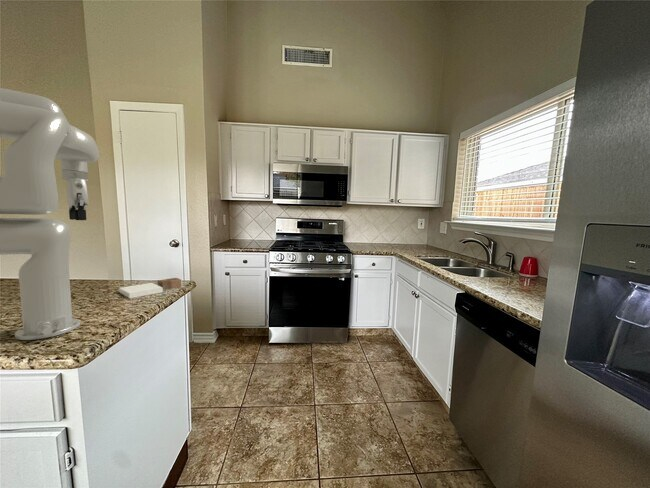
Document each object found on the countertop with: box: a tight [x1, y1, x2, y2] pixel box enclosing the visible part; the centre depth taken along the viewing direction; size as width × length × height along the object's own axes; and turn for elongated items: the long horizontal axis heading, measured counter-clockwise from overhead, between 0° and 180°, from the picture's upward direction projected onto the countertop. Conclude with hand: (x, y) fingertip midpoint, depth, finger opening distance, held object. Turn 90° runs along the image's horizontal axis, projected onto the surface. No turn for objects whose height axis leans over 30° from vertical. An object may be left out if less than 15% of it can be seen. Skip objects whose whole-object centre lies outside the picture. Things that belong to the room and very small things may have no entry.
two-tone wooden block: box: [157, 277, 183, 291], centre depth 120 cm, size 6×4×8 cm
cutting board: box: [118, 282, 164, 299], centre depth 111 cm, size 12×12×2 cm
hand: (77, 219), depth 104 cm, fingers open, 9 cm apart
